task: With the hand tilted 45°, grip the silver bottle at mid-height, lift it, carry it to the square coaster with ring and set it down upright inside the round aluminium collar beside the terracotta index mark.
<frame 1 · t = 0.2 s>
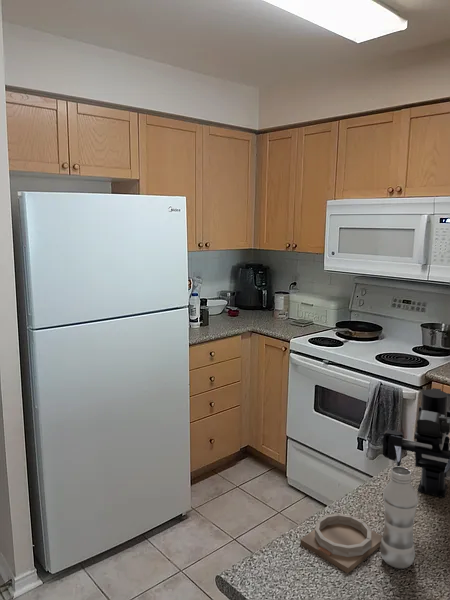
hand: (421, 469, 100), 17 cm above the worktop, tool horizontal, fingers open, 9 cm apart
silver bottle: (396, 563, 98), on the worktop
square coaster with ring: (342, 543, 103), on the worktop
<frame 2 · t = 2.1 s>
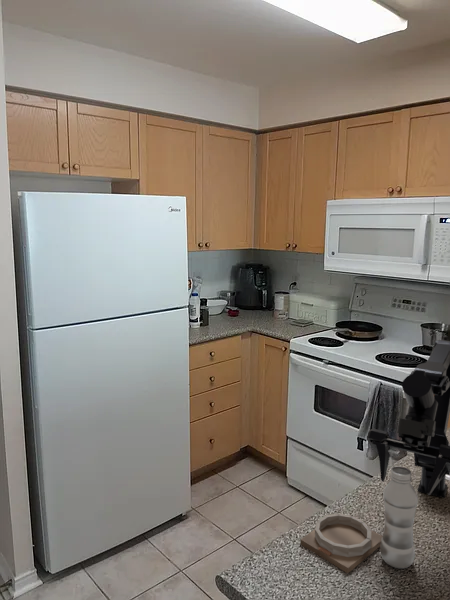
hand: (404, 487, 98), 15 cm above the worktop, tool tilted 45°, fingers open, 9 cm apart
nothing on the worktop moved.
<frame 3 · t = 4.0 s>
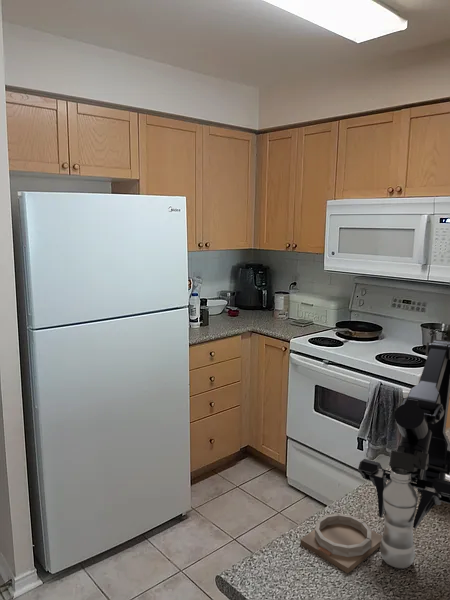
hand: (397, 522, 95), 10 cm above the worktop, tool tilted 45°, fingers closed on silver bottle, 6 cm apart
silver bottle: (396, 563, 98), on the worktop, touching gripper
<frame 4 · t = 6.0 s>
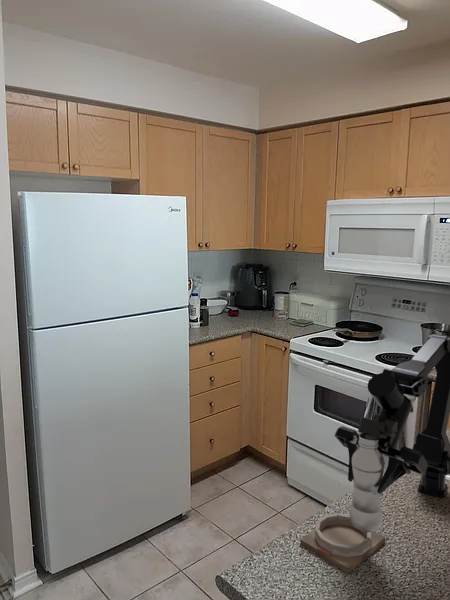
hand: (363, 486, 97), 15 cm above the worktop, tool tilted 45°, fingers closed on silver bottle, 6 cm apart
silver bottle: (365, 527, 100), point 6 cm above the worktop, touching gripper
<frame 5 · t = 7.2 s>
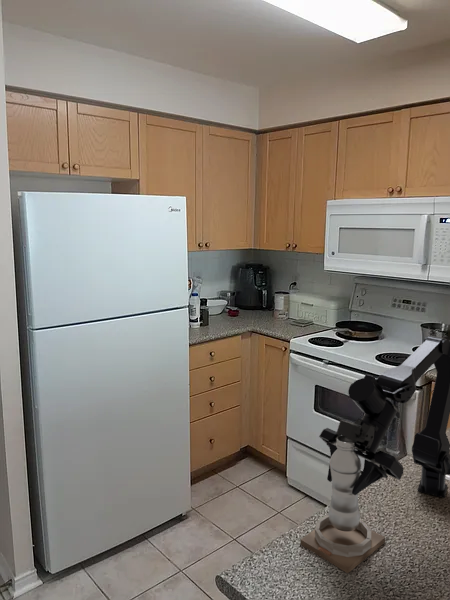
hand: (340, 487, 101), 13 cm above the worktop, tool tilted 45°, fingers closed on silver bottle, 6 cm apart
silver bottle: (343, 527, 103), point 4 cm above the worktop, touching gripper
when the fingers open (12 cm above the worktop, at t = 7.9 s): silver bottle drops 1 cm, resting on square coaster with ring.
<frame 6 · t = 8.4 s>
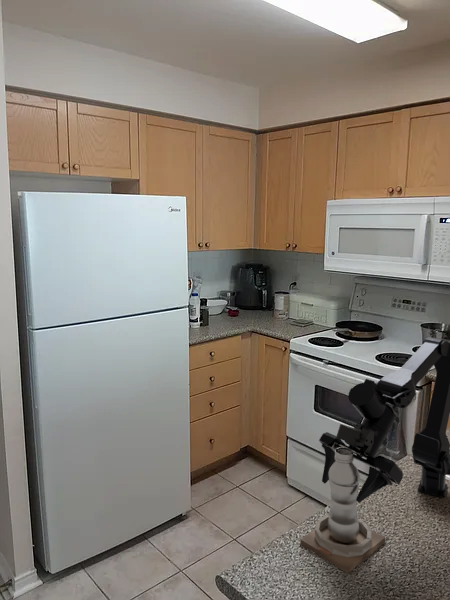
hand: (339, 491, 101), 13 cm above the worktop, tool tilted 45°, fingers open, 9 cm apart
silver bottle: (343, 538, 103), point 1 cm above the worktop, touching square coaster with ring
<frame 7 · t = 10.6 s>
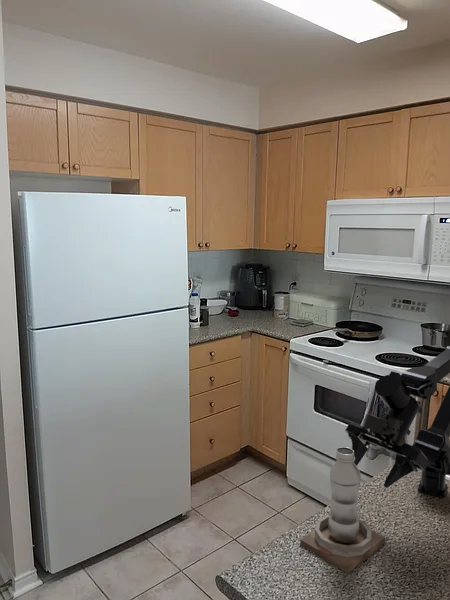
hand: (367, 478, 106), 12 cm above the worktop, tool tilted 45°, fingers open, 9 cm apart
nothing on the worktop moved.
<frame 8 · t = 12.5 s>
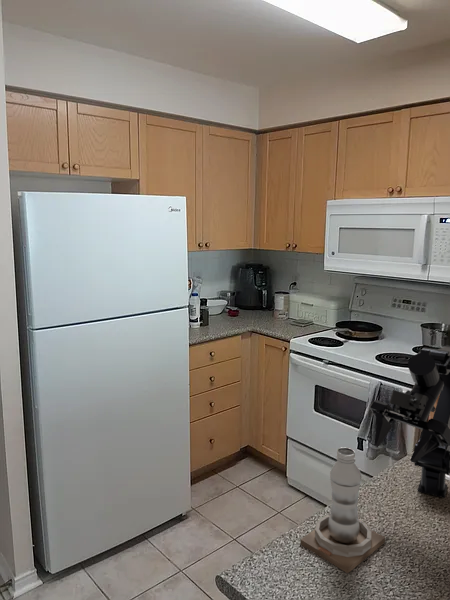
hand: (393, 453, 107), 18 cm above the worktop, tool tilted 45°, fingers open, 9 cm apart
nothing on the worktop moved.
at the end: silver bottle 0.2 cm off-centre on the square coaster with ring, point 1.0 cm above the square coaster with ring's base; silver bottle tilted 0°; the gripper is holding nothing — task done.
